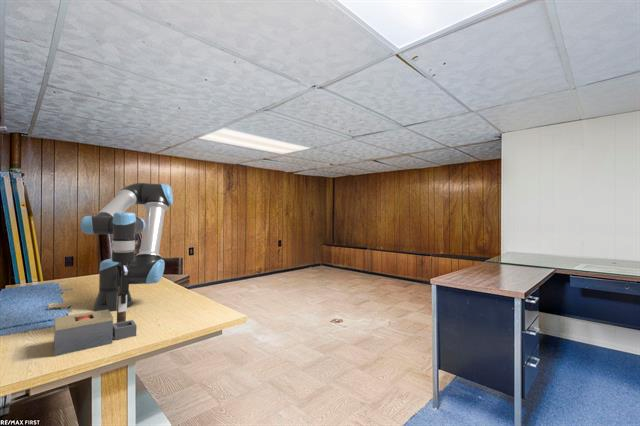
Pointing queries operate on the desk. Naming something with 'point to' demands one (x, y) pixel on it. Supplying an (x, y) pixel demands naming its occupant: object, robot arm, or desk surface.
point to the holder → (124, 329)
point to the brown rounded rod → (120, 315)
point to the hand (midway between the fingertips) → (121, 310)
